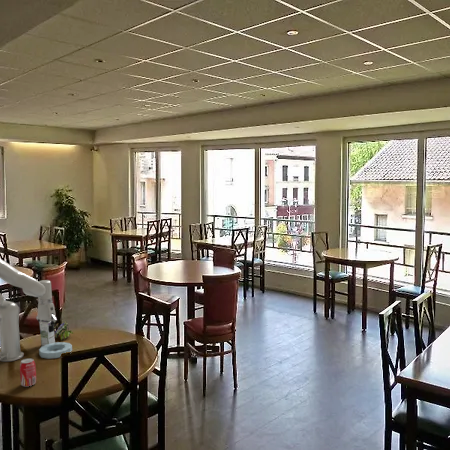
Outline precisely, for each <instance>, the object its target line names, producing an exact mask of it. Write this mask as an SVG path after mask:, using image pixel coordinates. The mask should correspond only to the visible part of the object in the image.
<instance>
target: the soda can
mask: <svg viewBox="0 0 450 450" xmlns="http://www.w3.org/2000/svg"><path fill="white" fill-rule="evenodd" d="M36 367H37V366H36V362H35V360H34V358H31V357H30V358H23V359H22V360H20V363H19V379H20V385H21V386H22V387H24V388H29V386H30V387H33V386H34V385H35V384H36V383H37V368H36ZM32 385H33V386H32Z"/></svg>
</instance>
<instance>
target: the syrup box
mask: <svg viewBox="0 0 450 450" xmlns="http://www.w3.org/2000/svg"><path fill="white" fill-rule="evenodd" d="M49 326H50V325H49V322H48V321H42V322H40V324H39V331H40V345H41V347H43V346H45V345H47V344H51V343H56V340H55V339H56V337H55V330H54V331H53V332H49Z"/></svg>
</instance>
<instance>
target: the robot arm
mask: <svg viewBox="0 0 450 450" xmlns="http://www.w3.org/2000/svg"><path fill="white" fill-rule="evenodd" d="M0 279H1V280H3V281H5V282H6V283H7V284H9V285H11V286H14V287H17V288H19V289H22V292H23V294H25V295H27V296H30V297H34V298H38V299H37V300H38V304H37V315H36V317H35V318H36V320H37V321H38V324H39V325H40V322H42V321H48V322H49V325H50V326H49V332H53V331H54V332H55V329H54V327H55V325H56V322H57V321H58V319H57V316H56V310H55V309H56V307H55V305H54V303H53V302H54V301H53V293H52V281H51V280H49V279H43V280H39V281H38V280H37V279H36V278H33V277H32V276H29V275H28V274H26V273H23V271H20V270H18V269H17V268H15V267H14V266H12V265H11V264H9V263H8V262H7V261H5V260H3V259H1V258H0ZM19 317H20V308H19V306H18V304H16V303H15V302H14V301H9V300H5V298H4V295H3V293H1V292H0V349H1V351H0V362H4V363H5V362H7V363H8V362H15V361H17V360H20V359H22V358H23V357H24V354H25V353H24V352H23V351H21V341H20V340H21V339H20V327H19Z"/></svg>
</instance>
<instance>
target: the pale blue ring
mask: <svg viewBox="0 0 450 450" xmlns="http://www.w3.org/2000/svg"><path fill="white" fill-rule="evenodd" d="M71 351H73V345H72V344H71V343H70V342H64V341H63V342H59V341H57V342H55V343H51V344H47V345H45V346H41V347H40V348H39V349H38V353H39V354H38V355H39V357H40V358H42V359H43V358H44V359H48V360H49V359H58V358H61V357H60V356H61V354H62V353H66V352H71ZM71 353H72V352H71Z"/></svg>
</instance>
